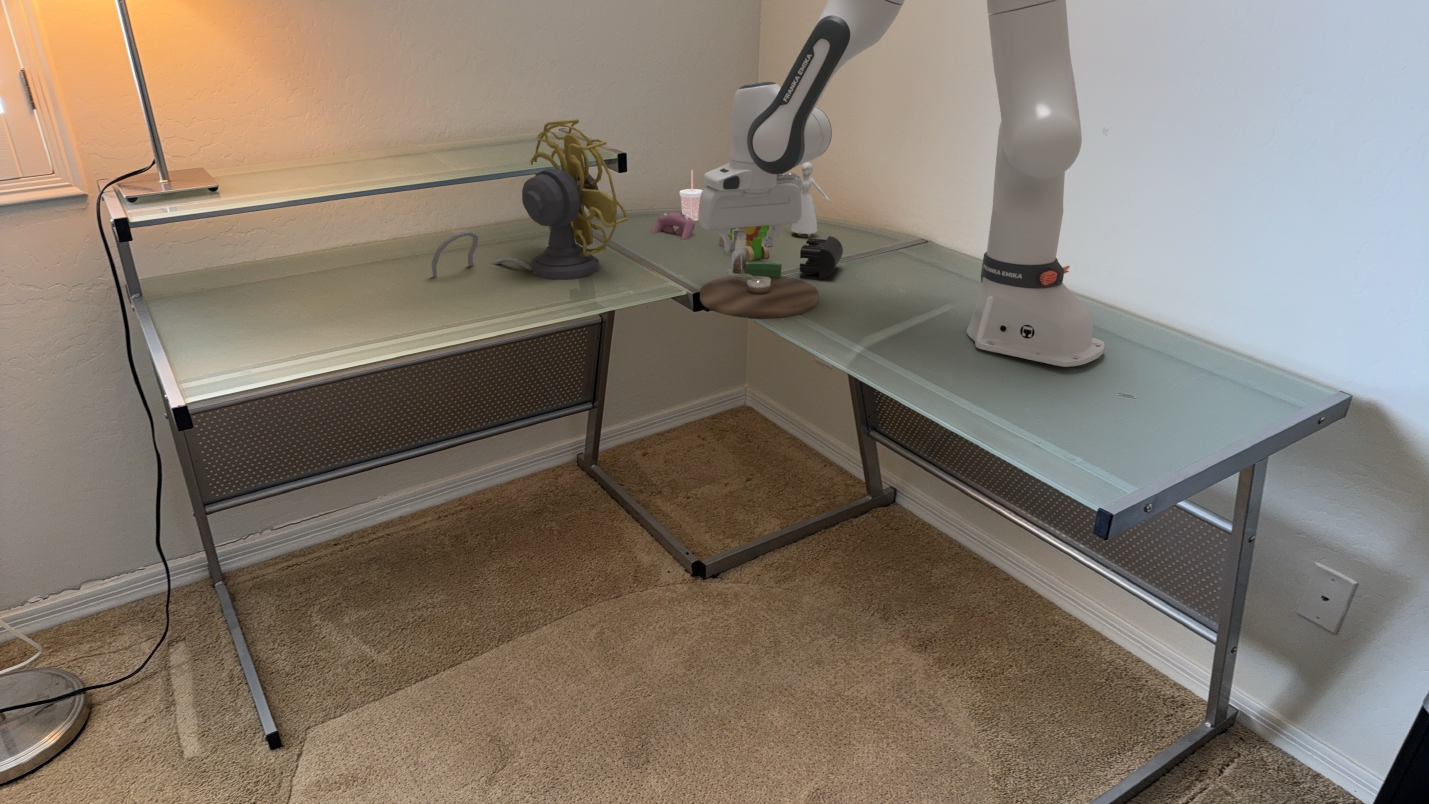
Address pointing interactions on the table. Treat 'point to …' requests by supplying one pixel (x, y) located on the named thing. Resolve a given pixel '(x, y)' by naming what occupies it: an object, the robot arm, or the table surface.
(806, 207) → the woman figurine
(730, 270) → the metal lever handle
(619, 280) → the table surface
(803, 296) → the dial plate
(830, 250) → the end cap
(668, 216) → the video game controller
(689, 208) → the beverage cup
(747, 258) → the toy lion
